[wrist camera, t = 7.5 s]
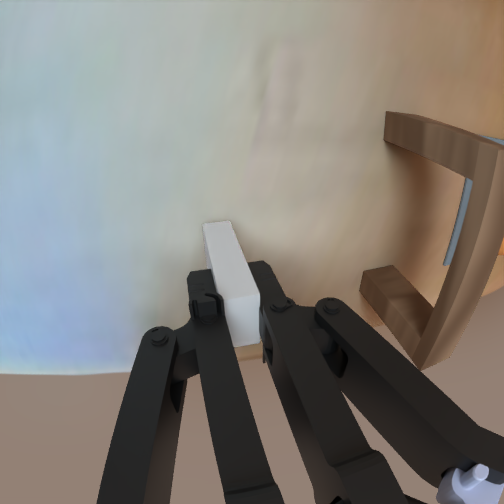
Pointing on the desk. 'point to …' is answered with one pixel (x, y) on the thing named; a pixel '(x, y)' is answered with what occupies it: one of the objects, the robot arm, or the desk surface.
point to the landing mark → (462, 214)
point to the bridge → (467, 249)
